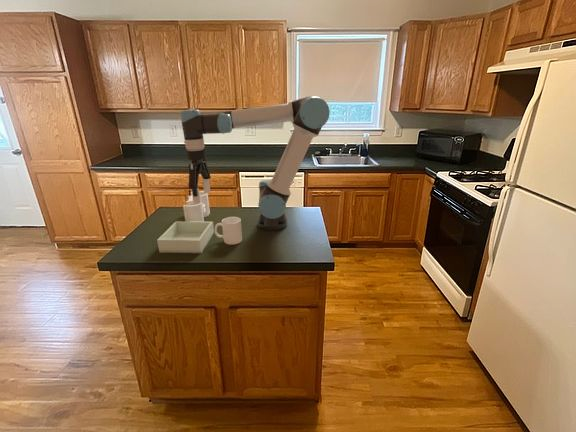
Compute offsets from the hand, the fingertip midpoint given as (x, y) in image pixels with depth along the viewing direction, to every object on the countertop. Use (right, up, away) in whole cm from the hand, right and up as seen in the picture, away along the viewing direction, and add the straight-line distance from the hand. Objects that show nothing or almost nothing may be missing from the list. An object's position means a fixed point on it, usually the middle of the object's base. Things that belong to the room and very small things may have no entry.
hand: (202, 198), depth 135 cm
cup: (+11, -19, +5) cm, 23 cm away
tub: (-8, -20, +4) cm, 22 cm away
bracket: (-10, -10, +29) cm, 33 cm away
